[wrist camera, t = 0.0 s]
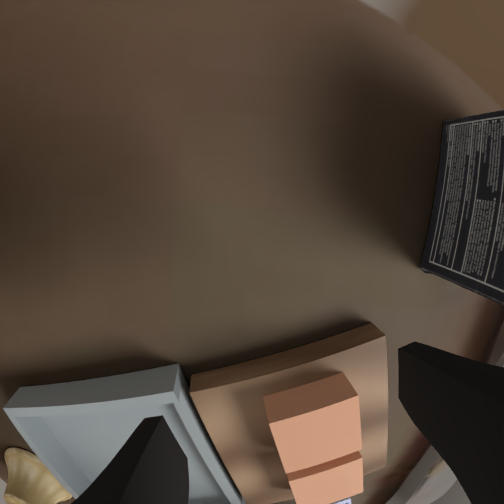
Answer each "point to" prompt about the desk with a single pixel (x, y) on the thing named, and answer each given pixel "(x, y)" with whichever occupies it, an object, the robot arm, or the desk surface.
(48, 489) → the hand bell
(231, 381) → the plate
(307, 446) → the tile near
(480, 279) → the small box
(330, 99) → the desk surface
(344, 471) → the tile far
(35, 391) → the tray
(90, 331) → the desk surface
